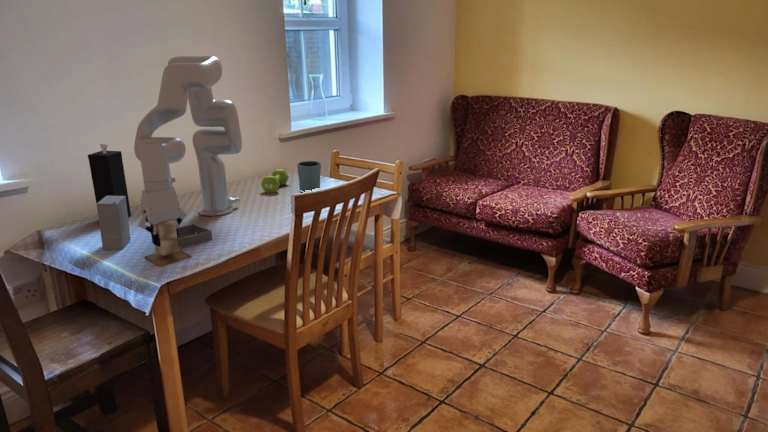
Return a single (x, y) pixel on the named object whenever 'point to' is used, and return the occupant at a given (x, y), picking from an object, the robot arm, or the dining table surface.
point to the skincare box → (113, 222)
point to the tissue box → (108, 175)
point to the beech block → (167, 238)
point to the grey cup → (309, 175)
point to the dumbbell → (274, 180)
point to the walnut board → (167, 258)
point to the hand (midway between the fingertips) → (166, 242)
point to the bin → (200, 237)
